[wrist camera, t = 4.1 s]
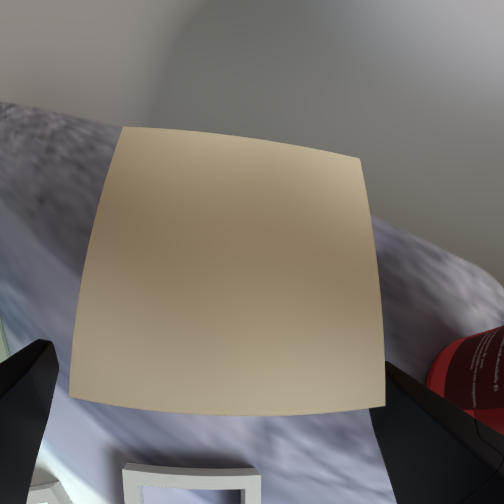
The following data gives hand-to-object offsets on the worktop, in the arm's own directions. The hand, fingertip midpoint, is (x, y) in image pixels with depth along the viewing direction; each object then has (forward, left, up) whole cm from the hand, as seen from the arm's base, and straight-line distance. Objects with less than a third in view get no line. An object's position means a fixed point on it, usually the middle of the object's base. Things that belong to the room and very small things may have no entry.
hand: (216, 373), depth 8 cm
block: (+2, +1, -9) cm, 9 cm away
